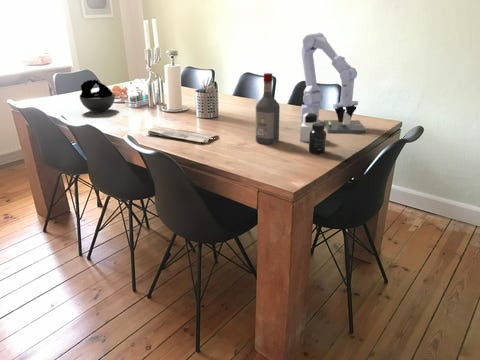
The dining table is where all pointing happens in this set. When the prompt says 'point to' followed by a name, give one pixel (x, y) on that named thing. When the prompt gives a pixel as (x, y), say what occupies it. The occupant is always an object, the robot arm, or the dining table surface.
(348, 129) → the base
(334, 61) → the robot arm
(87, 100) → the coal bowl
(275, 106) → the liquor
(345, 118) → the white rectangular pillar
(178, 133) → the newspaper
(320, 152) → the supplement bottle
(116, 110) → the dining table surface
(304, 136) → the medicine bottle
